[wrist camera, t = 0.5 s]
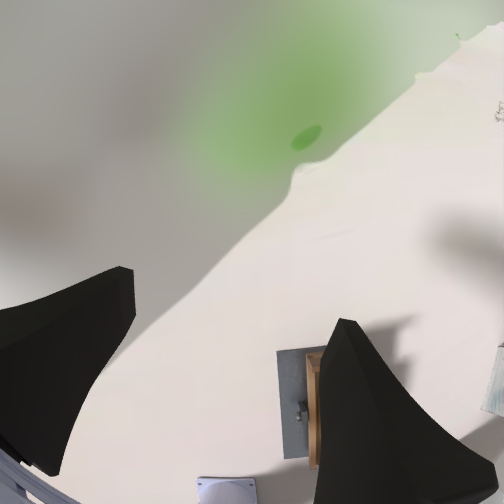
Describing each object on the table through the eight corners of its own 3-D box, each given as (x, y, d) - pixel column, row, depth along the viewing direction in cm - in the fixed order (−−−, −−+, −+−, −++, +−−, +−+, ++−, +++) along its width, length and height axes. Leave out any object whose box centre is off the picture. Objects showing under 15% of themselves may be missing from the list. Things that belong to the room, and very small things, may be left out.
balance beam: (352, 447, 30) (365, 472, 24) (307, 454, 30) (313, 482, 24) (355, 342, 31) (373, 357, 25) (303, 349, 31) (312, 366, 25)
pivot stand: (372, 443, 30) (384, 456, 26) (283, 458, 31) (285, 474, 26) (370, 339, 34) (383, 341, 29) (276, 351, 34) (277, 356, 30)
